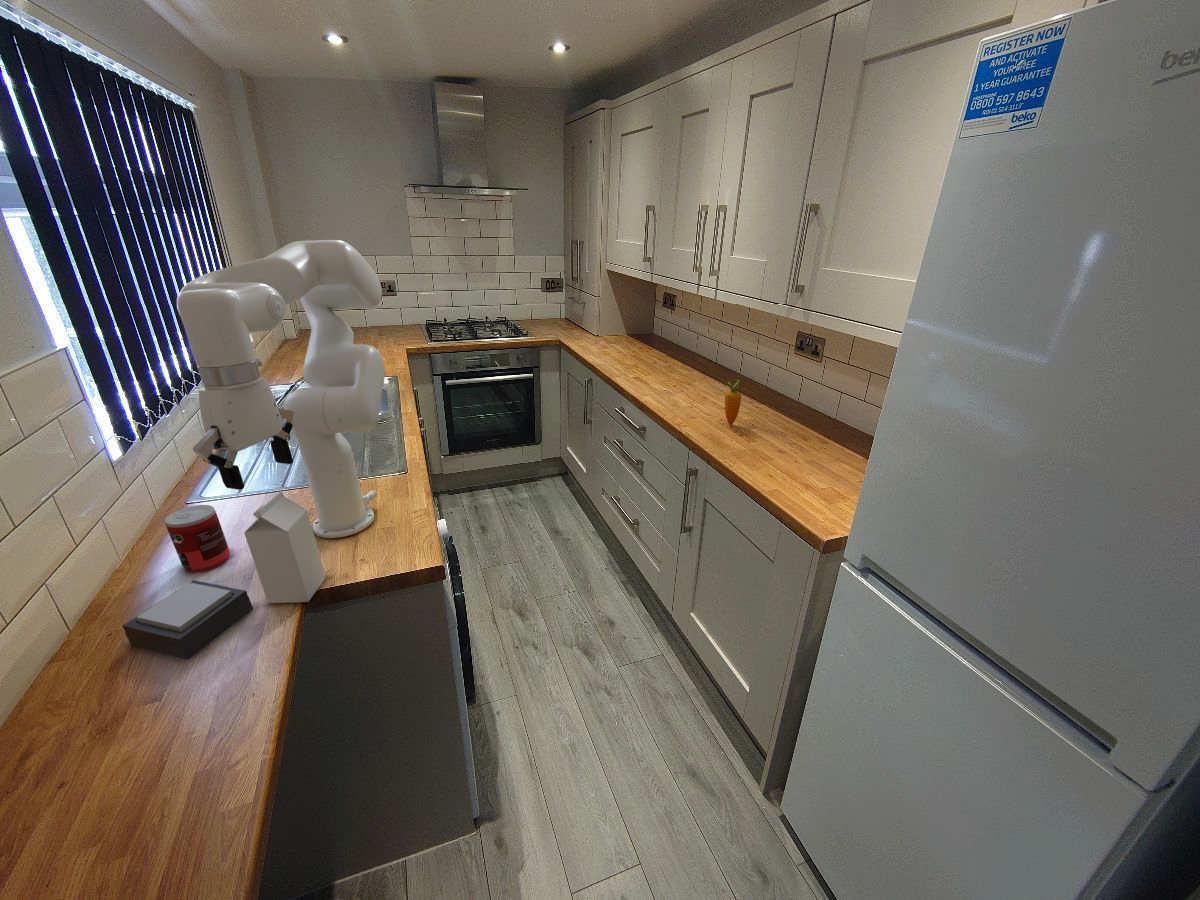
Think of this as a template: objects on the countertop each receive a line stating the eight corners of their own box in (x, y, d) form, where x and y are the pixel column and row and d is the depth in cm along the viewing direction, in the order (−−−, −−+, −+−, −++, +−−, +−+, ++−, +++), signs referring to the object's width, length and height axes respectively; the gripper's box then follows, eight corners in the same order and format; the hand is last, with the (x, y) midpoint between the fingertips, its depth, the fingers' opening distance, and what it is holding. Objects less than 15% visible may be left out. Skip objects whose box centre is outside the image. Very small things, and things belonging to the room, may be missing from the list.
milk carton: (326, 578, 100) (301, 489, 92) (308, 603, 93) (280, 510, 86) (288, 579, 100) (260, 491, 92) (268, 604, 93) (236, 511, 85)
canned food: (189, 556, 107) (170, 509, 103) (234, 546, 110) (218, 501, 105) (178, 577, 101) (158, 528, 96) (227, 567, 103) (209, 519, 99)
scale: (200, 597, 95) (193, 579, 93) (253, 608, 92) (246, 590, 90) (130, 645, 84) (121, 625, 83) (187, 659, 82) (179, 639, 80)
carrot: (723, 427, 168) (726, 382, 162) (722, 422, 172) (726, 377, 166) (739, 428, 167) (743, 382, 161) (737, 422, 172) (742, 378, 166)
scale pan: (193, 589, 92) (190, 582, 91) (233, 597, 90) (230, 590, 89) (139, 624, 84) (136, 617, 83) (182, 634, 82) (179, 627, 81)
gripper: (258, 359, 88) (284, 452, 95) (154, 388, 73) (194, 496, 80) (295, 361, 86) (319, 456, 93) (195, 391, 71) (232, 502, 78)
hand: (261, 474), depth 86 cm, fingers open, 9 cm apart
